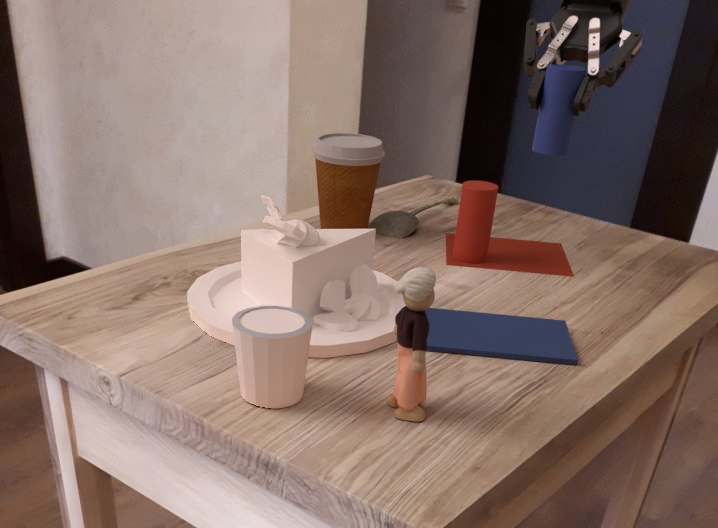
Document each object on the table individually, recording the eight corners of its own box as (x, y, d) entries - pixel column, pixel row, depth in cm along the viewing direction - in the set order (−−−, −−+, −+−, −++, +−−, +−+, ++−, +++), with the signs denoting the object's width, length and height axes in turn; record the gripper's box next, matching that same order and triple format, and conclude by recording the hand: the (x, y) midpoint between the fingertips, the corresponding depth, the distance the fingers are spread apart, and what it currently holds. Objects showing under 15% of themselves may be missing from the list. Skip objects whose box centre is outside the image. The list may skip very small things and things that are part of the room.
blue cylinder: (566, 149, 97) (583, 66, 92) (571, 157, 94) (588, 71, 88) (530, 146, 98) (545, 63, 92) (533, 154, 94) (549, 68, 89)
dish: (258, 378, 73) (257, 258, 67) (152, 286, 90) (143, 182, 83) (460, 330, 85) (477, 223, 79) (334, 256, 102) (339, 163, 95)
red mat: (560, 247, 110) (561, 243, 110) (573, 281, 100) (574, 276, 99) (444, 237, 111) (445, 232, 110) (445, 269, 100) (446, 264, 100)
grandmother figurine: (443, 424, 69) (465, 282, 61) (403, 430, 67) (420, 286, 60) (405, 384, 74) (421, 249, 67) (368, 389, 73) (379, 252, 66)
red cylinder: (485, 253, 104) (497, 182, 99) (487, 264, 101) (499, 191, 95) (452, 250, 104) (462, 178, 99) (452, 261, 101) (463, 188, 96)
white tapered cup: (224, 380, 73) (222, 307, 69) (296, 371, 75) (298, 301, 71) (244, 416, 68) (243, 340, 64) (320, 406, 70) (323, 332, 66)
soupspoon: (359, 238, 110) (399, 252, 107) (361, 214, 108) (402, 227, 105) (435, 200, 125) (472, 211, 122) (438, 178, 122) (476, 189, 120)
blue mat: (564, 325, 88) (565, 320, 88) (577, 365, 80) (578, 359, 79) (420, 311, 89) (420, 306, 88) (418, 350, 81) (419, 344, 80)
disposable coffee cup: (347, 219, 115) (353, 129, 108) (392, 237, 109) (401, 144, 102) (295, 229, 110) (297, 135, 102) (338, 249, 104) (344, 152, 97)
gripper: (543, -52, 92) (491, 77, 90) (670, -43, 87) (617, 93, 85) (547, 1, 99) (499, 120, 97) (664, 12, 94) (616, 138, 92)
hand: (555, 107), depth 91 cm, fingers closed on blue cylinder, 4 cm apart
